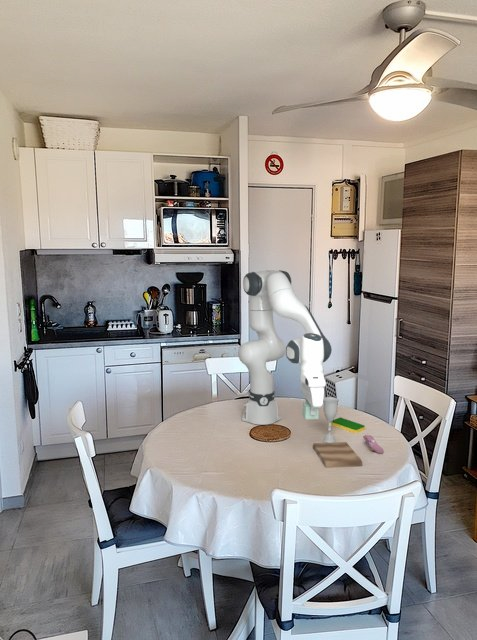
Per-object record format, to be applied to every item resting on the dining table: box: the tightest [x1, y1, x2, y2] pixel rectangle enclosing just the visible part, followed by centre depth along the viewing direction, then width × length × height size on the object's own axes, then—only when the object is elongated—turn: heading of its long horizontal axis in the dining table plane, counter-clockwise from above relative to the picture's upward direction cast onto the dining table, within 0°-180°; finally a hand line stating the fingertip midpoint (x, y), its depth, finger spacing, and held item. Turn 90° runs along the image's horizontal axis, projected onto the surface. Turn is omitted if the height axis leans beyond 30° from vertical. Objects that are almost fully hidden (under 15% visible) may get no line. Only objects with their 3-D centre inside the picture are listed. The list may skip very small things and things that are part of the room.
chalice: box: [322, 396, 340, 443], centre depth 204 cm, size 7×7×18 cm
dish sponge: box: [331, 416, 366, 434], centre depth 221 cm, size 7×14×2 cm, turn 41°
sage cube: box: [302, 401, 320, 420], centre depth 185 cm, size 5×5×5 cm
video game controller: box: [362, 434, 384, 455], centre depth 196 cm, size 10×5×7 cm, turn 6°
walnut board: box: [312, 441, 363, 469], centre depth 190 cm, size 18×14×2 cm
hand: (310, 411), depth 185 cm, fingers closed on sage cube, 5 cm apart
